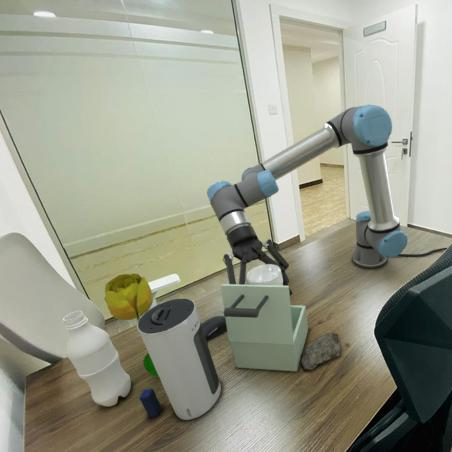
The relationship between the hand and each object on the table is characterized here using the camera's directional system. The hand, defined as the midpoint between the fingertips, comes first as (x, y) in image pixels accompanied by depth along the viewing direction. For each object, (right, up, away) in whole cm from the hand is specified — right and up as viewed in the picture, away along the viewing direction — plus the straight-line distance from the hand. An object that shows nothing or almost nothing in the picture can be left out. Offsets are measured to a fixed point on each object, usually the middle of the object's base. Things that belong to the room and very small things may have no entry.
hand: (274, 303), depth 68 cm
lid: (-3, -1, -4) cm, 5 cm away
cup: (-2, -3, +4) cm, 5 cm away
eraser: (-25, -23, -8) cm, 35 cm away
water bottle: (-38, -22, -4) cm, 44 cm away
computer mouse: (-23, -15, +11) cm, 30 cm away
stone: (+12, -16, +5) cm, 21 cm away
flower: (-29, -19, +1) cm, 35 cm away
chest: (-1, -15, +8) cm, 17 cm away
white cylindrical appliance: (-17, -21, -5) cm, 28 cm away
